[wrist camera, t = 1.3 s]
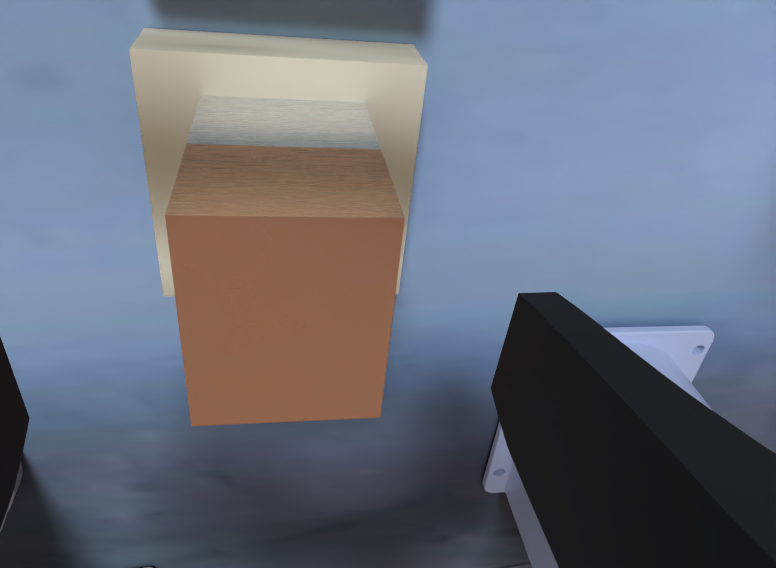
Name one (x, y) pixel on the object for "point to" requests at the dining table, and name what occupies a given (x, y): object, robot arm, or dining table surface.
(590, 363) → the robot arm
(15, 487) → the travel mug
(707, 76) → the dining table surface
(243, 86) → the stand
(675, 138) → the dining table surface
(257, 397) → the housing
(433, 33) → the dining table surface
